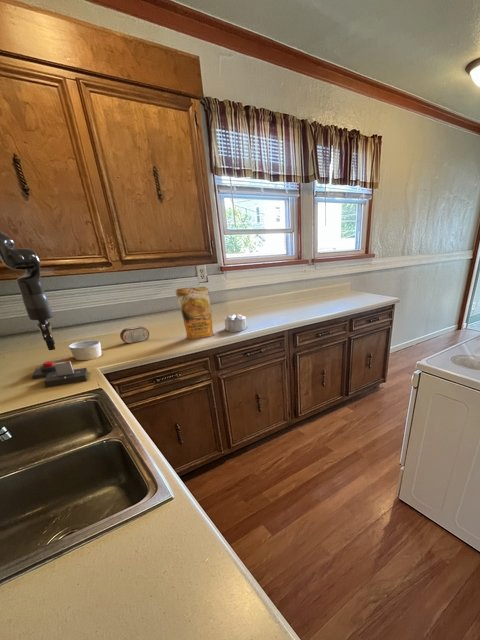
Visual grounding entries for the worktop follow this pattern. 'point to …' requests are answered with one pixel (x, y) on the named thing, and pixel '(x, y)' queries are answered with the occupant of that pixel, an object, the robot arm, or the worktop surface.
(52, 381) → the control panel
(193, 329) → the pancake mix bag
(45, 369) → the power switch
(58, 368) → the grey rectangular block
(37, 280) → the robot arm
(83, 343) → the ramekin
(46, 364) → the power button
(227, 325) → the lumpy-topped squat cylinder
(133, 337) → the tin
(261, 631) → the worktop surface
